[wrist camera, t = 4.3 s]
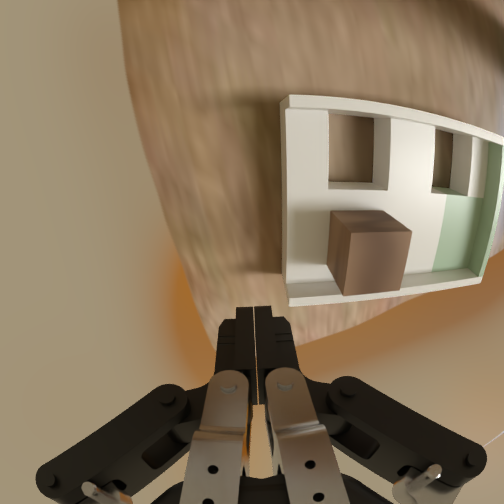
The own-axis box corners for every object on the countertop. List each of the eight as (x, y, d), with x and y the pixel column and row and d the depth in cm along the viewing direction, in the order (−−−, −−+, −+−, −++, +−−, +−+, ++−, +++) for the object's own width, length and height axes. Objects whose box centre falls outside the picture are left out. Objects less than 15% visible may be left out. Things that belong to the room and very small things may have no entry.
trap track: (474, 132, 19) (507, 138, 14) (455, 261, 25) (480, 282, 21) (279, 102, 19) (289, 94, 14) (281, 274, 25) (289, 306, 21)
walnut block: (383, 210, 19) (412, 231, 15) (375, 261, 21) (399, 290, 17) (330, 210, 19) (351, 232, 15) (326, 264, 21) (343, 296, 17)
